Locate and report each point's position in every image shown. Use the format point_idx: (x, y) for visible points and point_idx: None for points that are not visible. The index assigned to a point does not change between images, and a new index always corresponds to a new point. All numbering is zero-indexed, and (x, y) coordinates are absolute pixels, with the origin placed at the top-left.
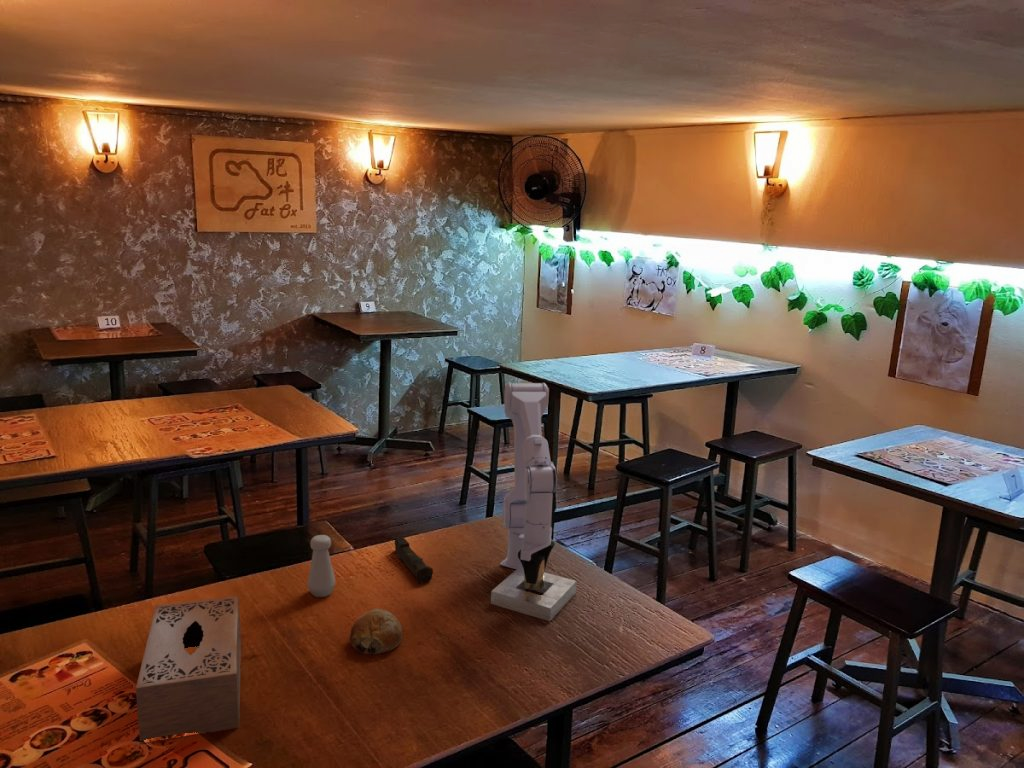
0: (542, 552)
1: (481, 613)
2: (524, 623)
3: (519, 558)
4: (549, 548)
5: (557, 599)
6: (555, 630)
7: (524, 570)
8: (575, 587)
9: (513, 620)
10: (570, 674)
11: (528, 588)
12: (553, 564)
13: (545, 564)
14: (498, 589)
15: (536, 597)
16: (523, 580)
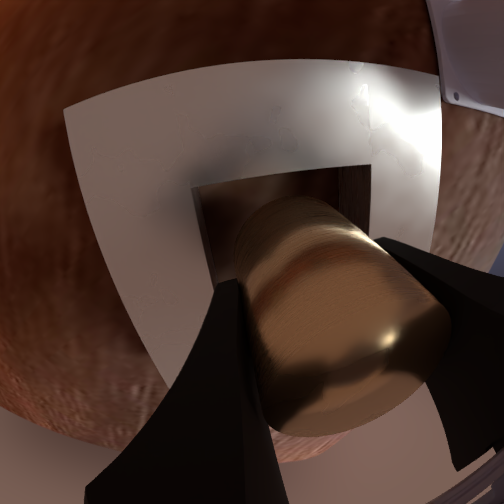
0: (457, 392)
1: (22, 145)
2: (96, 305)
3: (100, 484)
4: (457, 449)
5: None
6: (149, 376)
7: (190, 357)
8: None
9: (76, 268)
10: (77, 425)
11: (234, 259)
12: (500, 153)
13: None
14: (102, 122)
15: (192, 327)
16: (315, 168)
